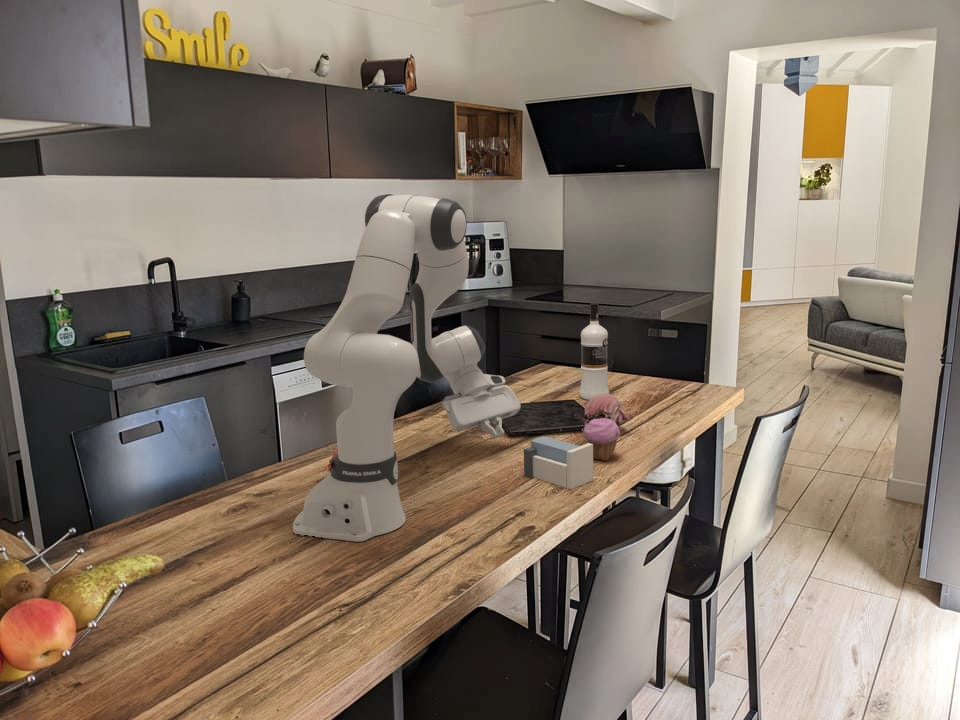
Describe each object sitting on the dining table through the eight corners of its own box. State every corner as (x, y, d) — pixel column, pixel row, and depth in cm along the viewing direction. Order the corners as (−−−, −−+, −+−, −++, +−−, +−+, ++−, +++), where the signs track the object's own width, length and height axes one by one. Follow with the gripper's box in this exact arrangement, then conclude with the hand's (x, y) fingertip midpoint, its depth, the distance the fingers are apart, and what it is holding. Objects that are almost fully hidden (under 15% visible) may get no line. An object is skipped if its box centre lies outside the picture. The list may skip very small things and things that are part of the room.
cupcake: (577, 459, 191) (576, 420, 189) (594, 449, 198) (594, 411, 196) (609, 466, 186) (610, 426, 184) (626, 456, 193) (626, 416, 191)
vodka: (591, 392, 254) (591, 300, 247) (615, 396, 247) (615, 302, 241) (573, 397, 247) (573, 303, 241) (597, 402, 241) (597, 306, 235)
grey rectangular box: (531, 472, 183) (530, 440, 181) (544, 467, 186) (543, 436, 184) (571, 485, 174) (570, 451, 173) (583, 479, 177) (583, 447, 176)
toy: (628, 438, 201) (638, 419, 215) (615, 400, 200) (626, 383, 213) (585, 448, 206) (597, 428, 220) (572, 410, 205) (585, 393, 218)
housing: (524, 475, 181) (523, 440, 180) (550, 465, 188) (550, 431, 186) (568, 490, 172) (568, 453, 170) (595, 479, 178) (595, 443, 176)
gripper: (444, 391, 188) (471, 440, 183) (508, 375, 201) (534, 420, 196) (434, 405, 193) (460, 453, 188) (497, 388, 205) (523, 432, 200)
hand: (498, 436), depth 192 cm, fingers closed
